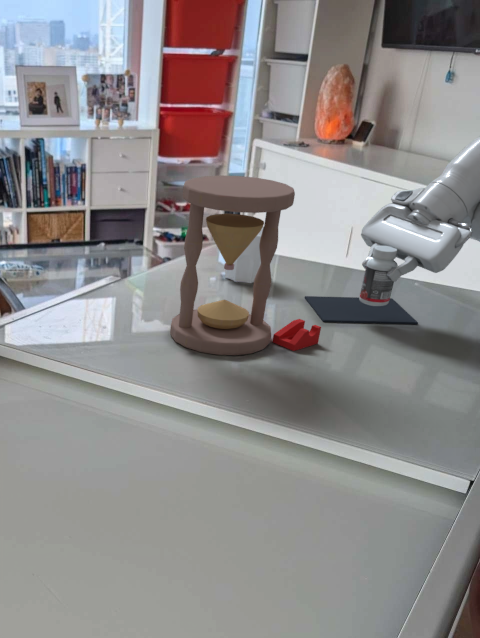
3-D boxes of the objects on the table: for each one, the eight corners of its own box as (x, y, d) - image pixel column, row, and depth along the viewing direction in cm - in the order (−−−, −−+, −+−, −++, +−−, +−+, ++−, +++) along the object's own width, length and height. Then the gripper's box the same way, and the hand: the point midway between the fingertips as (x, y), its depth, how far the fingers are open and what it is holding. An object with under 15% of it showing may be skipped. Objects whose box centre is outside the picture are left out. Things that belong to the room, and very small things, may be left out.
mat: (391, 300, 154) (392, 298, 154) (417, 324, 143) (418, 322, 142) (304, 298, 154) (304, 296, 153) (323, 322, 142) (323, 320, 142)
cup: (276, 280, 163) (284, 233, 157) (241, 286, 158) (248, 238, 153) (245, 268, 170) (252, 222, 164) (211, 274, 165) (216, 227, 160)
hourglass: (261, 321, 141) (284, 177, 127) (278, 358, 127) (306, 199, 113) (166, 317, 141) (179, 173, 127) (172, 353, 126) (187, 195, 113)
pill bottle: (355, 296, 143) (367, 243, 138) (384, 298, 143) (397, 245, 137) (361, 306, 139) (374, 251, 133) (391, 307, 138) (405, 253, 133)
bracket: (296, 335, 136) (299, 318, 134) (317, 343, 133) (321, 327, 131) (272, 342, 132) (275, 325, 131) (293, 351, 129) (296, 334, 128)
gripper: (484, 240, 129) (423, 302, 132) (403, 213, 145) (350, 268, 147) (472, 214, 125) (409, 278, 128) (390, 189, 141) (336, 246, 143)
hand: (377, 273), depth 138 cm, fingers closed on pill bottle, 5 cm apart
